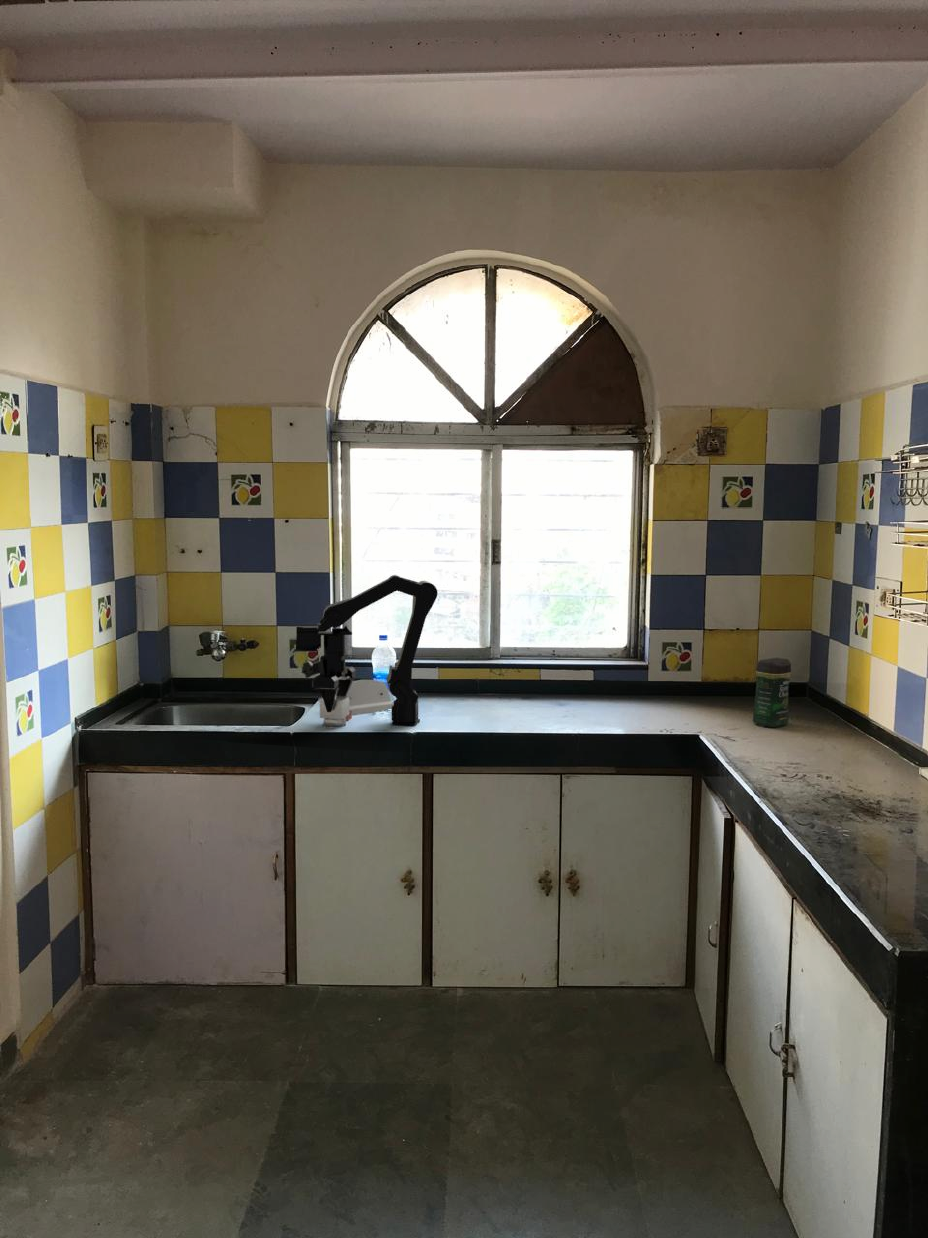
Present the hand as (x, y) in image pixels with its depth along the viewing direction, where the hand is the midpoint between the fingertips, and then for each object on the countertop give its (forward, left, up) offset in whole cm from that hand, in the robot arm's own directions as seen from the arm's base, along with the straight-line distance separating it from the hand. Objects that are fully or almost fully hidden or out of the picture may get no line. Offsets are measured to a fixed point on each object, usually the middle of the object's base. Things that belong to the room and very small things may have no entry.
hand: (334, 708), depth 261 cm
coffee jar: (-116, -31, -5) cm, 120 cm away
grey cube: (0, 0, -2) cm, 2 cm away
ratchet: (0, -3, -5) cm, 5 cm away
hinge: (-2, -20, -5) cm, 20 cm away
